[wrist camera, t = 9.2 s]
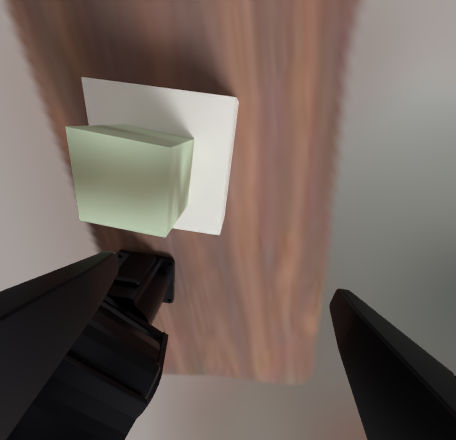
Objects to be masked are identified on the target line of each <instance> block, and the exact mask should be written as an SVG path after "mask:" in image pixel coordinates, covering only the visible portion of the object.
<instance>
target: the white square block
mask: <svg viewBox="0 0 456 440" xmlns="http://www.w3.org/2000/svg"><path fill="white" fill-rule="evenodd" d="M81 79H82V86H83V92H84V98H85V105H86V111H87V118H88V124H89V126H90V125H117V124H124V125H129V126H133V127H138V128H143V129H148V130H153V131H158V132H163V133H168V134H173V135H178V136H183V137H188V138H193V139H194V148H193V158H192V167H191V177H190V187H189V196H188V206H187V207H186V208H185V210H184V211H183V213H182V214H181V216H180V217H179V219H178V220H177V221H176V223H175V224H174V226H173V227H172V228H175V229H182V230H188V231H195V232H201V233H208V234H214V235H220V232H221V228H222V224H223V220H224V216H225V208H226V200H227V192H228V184H229V176H230V168H231V160H232V152H233V144H234V136H235V128H236V120H237V112H238V104H239V101H238V100H237V98H236V97H231V96H223V95H215V94H208V93H200V92H193V91H185V90H177V89H170V88H162V87H155V86H147V85H139V84H132V83H124V82H117V81H109V80H101V79H94V78H86V77H81Z"/></svg>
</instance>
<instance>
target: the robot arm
mask: <svg viewBox="0 0 456 440" xmlns="http://www.w3.org/2000/svg"><path fill="white" fill-rule="evenodd" d="M120 254H121V255H120ZM169 262H171V264H170V263H169ZM174 282H175V261H174V259H172V258H167V257H161V256H155V255H149V254H142V253H136V252H130V251H124V250H120V251H118V252H117V253H115V252H109V251H104V252H101V253H99V254H96V255H94V256H91V257H89V258H86V259H83V260H81V261H78V262H76V263H73V264H70V265H68V266H65V267H63V268H60V269H57V270H55V271H52V272H50V273H47V274H45V275H42V276H39V277H37V278H34V279H32V280H29V281H26V282H24V283H21V284H19V285H16V286H13V287H11V288H8V289H6V290H3V291H1V292H0V440H125V438H126V436H127V434H128V432H129V431H130V429H131V427H132V426H133V424H134V422H135V420H136V419H137V418H138V417H139V416H140V415H141V414H142V413H143V411H144V410H145V409H146V407H147V406H148V404H149V403H150V401H151V399H152V398H153V396H154V394H155V392H156V389H157V387H158V385H159V382H160V379H161V375H162V371H163V365H164V359H165V353H166V347H167V341H168V334H166V333H165V332H161V331H160V330H158V329H157V328H155V327H154V326H152V323H153V321H154V319H155V316H156V314H157V312H158V310H159V308H160V306H161V304H162V302H165V303H172V302H173V300H174ZM330 313H331V317H332V322H333V327H334V331H335V336H336V341H337V345H338V349H339V352H340V355H341V359H342V362H343V365H344V368H345V371H346V374H347V377H348V381H349V384H350V387H351V390H352V393H353V396H354V399H355V402H356V405H357V408H358V412H359V415H360V418H361V421H362V424H363V427H364V430H365V433H366V437H367V440H456V376H454V374H453V372H451V371H450V370H449V369H447V368H446V367H445V366H444V365H443V364H441V363H440V362H439V361H437V360H436V359H435V358H434V357H432V356H431V355H430V354H429V353H427V352H426V351H425V350H423V349H422V348H421V347H420V346H419V345H417V344H416V343H415V342H414V341H412V340H411V339H410V338H408V337H407V336H406V335H405V334H404V333H402V332H401V331H400V330H398V329H397V328H396V327H395V326H394V325H392V324H391V323H390V322H388V321H387V320H386V319H385V318H383V317H382V316H381V315H379V314H378V313H377V312H376V311H374V310H373V309H372V308H371V307H370V306H368V305H367V304H366V303H364V302H363V301H362V300H361V299H359V298H358V297H357V296H356V295H355V294H353V293H352V292H351V291H349V290H346V289H337V290H336V292H335V294H334V296H333V298H332V300H331V302H330Z"/></svg>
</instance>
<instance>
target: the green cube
mask: <svg viewBox="0 0 456 440" xmlns="http://www.w3.org/2000/svg"><path fill="white" fill-rule="evenodd" d="M65 128H66V134H67V141H68V147H69V154H70V161H71V167H72V174H73V180H74V187H75V194H76V200H77V207H78V213H79V220H80V221H85V222H90V223H95V224H100V225H105V226H110V227H115V228H120V229H125V230H130V231H135V232H140V233H145V234H150V235H155V236H160V237H166V236H167V234H168V233H169V231H170V230H171V229H172V227H173V226H174V224H175V223H176V221H177V220H178V219H179V217H180V216H181V214H182V213H183V211H184V210H185V208H186V207H187V206H188V196H189V187H190V177H191V167H192V158H193V148H194V139H193V138H188V137H183V136H178V135H173V134H168V133H163V132H158V131H153V130H148V129H143V128H138V127H133V126H129V125H124V124H117V125H90V126H65Z"/></svg>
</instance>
